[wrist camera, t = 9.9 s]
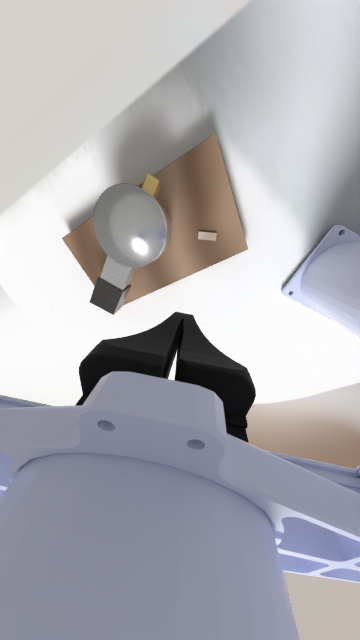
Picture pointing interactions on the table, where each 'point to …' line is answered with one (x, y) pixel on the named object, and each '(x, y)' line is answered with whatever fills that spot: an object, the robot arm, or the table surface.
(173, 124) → the table surface
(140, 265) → the silver saucepan
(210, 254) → the mounting board
